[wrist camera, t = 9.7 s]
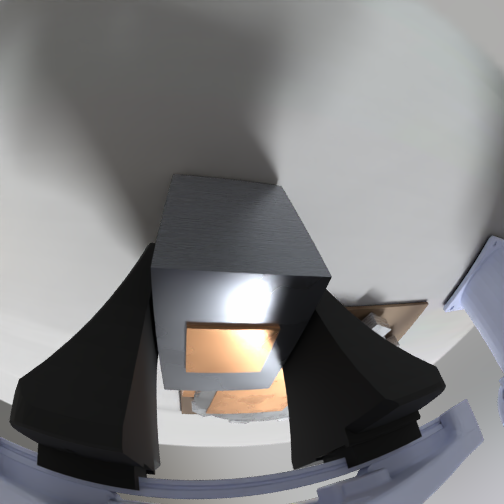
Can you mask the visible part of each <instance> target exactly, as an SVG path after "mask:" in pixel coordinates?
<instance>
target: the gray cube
mask: <svg viewBox="0 0 504 504" xmlns="http://www.w3.org/2000/svg"><path fill="white" fill-rule="evenodd" d="M331 277H332V276H331V274H330V273H329V271H328V269H327V267H326V265H325V263H324V261H323V259H322V257H321V255H320V254H319V252H318V250H317V248H316V246H315V244H314V242H313V241H312V239H311V237H310V235H309V233H308V232H307V230H306V228H305V226H304V224H303V223H302V221H301V219H300V217H299V216H298V214H297V212H296V210H295V209H294V207H293V205H292V203H291V202H290V200H289V198H288V196H287V195H286V193H285V191H284V190H283V188H282V186H277V185H270V184H263V183H255V182H247V181H239V180H230V179H221V178H211V177H201V176H189V175H176V174H173V178H172V181H171V185H170V188H169V192H168V196H167V199H166V203H165V207H164V211H163V215H162V219H161V223H160V227H159V231H158V236H157V240H156V244H155V249H154V254H153V258H152V263H151V282H152V296H153V308H154V318H155V327H156V336H157V344H158V352H159V359H160V365H161V372H162V378H163V384H164V389H165V390H187V391H233V390H255V389H269V388H270V386H271V385H272V383H273V382H274V380H275V378H276V377H277V375H278V373H279V372H280V370H281V369H282V367H283V365H284V364H285V362H286V360H287V359H288V357H289V355H290V353H291V352H292V350H293V348H294V347H295V345H296V343H297V341H298V340H299V338H300V336H301V334H302V332H303V331H304V329H305V327H306V325H307V323H308V322H309V320H310V318H311V316H312V314H313V312H314V310H315V309H316V307H317V305H318V303H319V301H320V299H321V297H322V295H323V293H324V291H325V289H326V287H327V285H328V283H329V281H330V279H331Z"/></svg>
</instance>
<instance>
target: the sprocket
mask: <svg viewBox="0 0 504 504" xmlns="http://www.w3.org/2000/svg"><path fill="white" fill-rule="evenodd" d="M362 322H363V323H364V324H365V325H367V326H368V327H369V328H371V329H372V330H373V331H375V332H376V333H378V334H379V335H380V336H382V337H383V338H385V336H384V335H386V334H387V333H388V332H389V331H390V330H392V329H391V328H390V326H389V324H388V322H387V320H386V319H385V318H383V317H381V316H378V315H376V314H374V313H370V314H369V315H368V316H367V317H365V318H364V319H363V320H362ZM385 339H386V338H385ZM386 340H388V341H389V342H391V343H392V344H394V345H396V346H397V347H399V343H398V341H397V339H396V337H395V335H393V336H391V337H389V338H387V339H386ZM182 397H194V400H193V401H192V411H193V412H195V413H197V414H199V415H201V416H203V417H205V416H211V415H212V416H215V417H219V418H223V419H228V420H229V423H243V424H246V423H248V422H250V421H267V420H276V419H277V421H282V420H287V419H289V412H288V403H287V396H286V388H285V382H284V376H283V370H282V369H281V370H280V372H279V373H278V375H277V377H276V378H275V380H274V382H273V383H272V385H271V386H270V388H269V389H255V390H233V391H187V390H182Z"/></svg>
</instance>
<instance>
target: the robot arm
mask: <svg viewBox="0 0 504 504" xmlns="http://www.w3.org/2000/svg"><path fill="white" fill-rule="evenodd" d="M155 244H156V243H150V244H149V245H148V246H147V248H146V249H145V251H144V252H143V254H142V256H141V257H140V259H139V260H138V262H137V263H136V264H135V266H134V267H133V269H132V270H131V271H130V273H129V274H128V276H127V277H126V278H125V280H124V281H123V282H122V284H121V285H120V286H119V287H118V289H117V290H116V291H115V292H114V294H113V295H112V296H111V297H110V299H109V300H108V301H107V302H106V303H105V304H104V306H103V307H102V308H101V309H100V310H99V311H98V312H97V313H96V314H95V315H94V316H93V318H92V319H91V320H90V321H89V322H88V323H87V324H86V325H85V326H84V327H83V328H82V329H81V330H80V331H79V332H78V333H77V334H75V335H74V336H73V337H72V338H71V339H70V340H69V341H68V342H67V343H65V344H64V345H63V346H62V347H61V348H60V349H58V350H57V351H56V352H55V353H54V354H53V355H51V356H50V357H49V358H48V359H47V360H45V361H44V362H43V363H41V364H40V365H38V366H37V367H36V368H34V369H33V370H32V371H30V372H29V373H28V374H26V375H25V376H23V377H22V378H20V379H19V381H18V384H17V387H16V390H15V394H14V399H13V404H12V409H11V416H10V423H11V425H12V427H13V428H15V429H16V430H17V431H19V432H20V433H22V434H23V435H25V436H27V437H28V438H30V439H32V440H33V441H35V442H37V443H38V453H37V452H34V451H32V450H29V449H27V448H24V447H22V446H20V445H17V444H15V443H13V442H11V441H8V440H6V439H4V438H2V437H0V504H160V503H151V502H142V501H133V500H123V499H122V498H121V497H120V496H119V495H118V494H117V493H116V492H118V493H124V494H130V495H138V496H146V497H157V498H173V499H217V498H232V497H243V496H252V495H260V494H266V493H273V492H278V491H283V490H289V489H293V488H298V487H302V486H306V485H311V484H314V483H318V482H322V481H325V480H329V479H332V478H335V477H339V476H341V475H345V474H348V473H350V472H353V471H356V470H359V469H360V470H359V471H358V474H357V476H355V477H353V478H349V479H346V480H343V481H339V482H336V483H333V484H330V485H327V486H324V487H321V488H318V489H317V494H318V497H317V498H313V499H309V500H305V501H300V502H296V503H291V504H423V503H424V502H425V501H426V500H427V499H428V498H429V497H430V496H431V495H432V494H433V493H434V492H436V491H437V489H439V487H440V486H441V485H442V484H443V483H444V482H445V481H446V480H447V479H448V478H449V477H450V476H451V475H452V474H453V473H454V471H455V470H456V469H457V468H458V467H459V466H460V465H461V463H462V462H463V461H464V460H465V459H466V458H467V457H468V456H469V455H470V454H471V453H472V452H473V451H474V450H475V449H476V448H477V447H478V446H479V445H480V444H481V443H482V442H483V441H484V439H483V436H482V433H481V431H480V428H479V426H478V423H477V421H476V418H475V416H474V414H473V411H472V409H471V407H470V405H469V402H468V400H467V399H465V400H463V401H462V402H460V403H458V404H457V405H455V406H453V407H452V408H450V409H449V410H448V411H446V412H444V413H443V414H442V415H440V416H439V417H438V418H436V419H434V420H432V421H430V422H428V423H426V424H425V425H423V426H421V427H418V424H417V420H418V419H420V414H419V412H418V410H419V409H421V408H422V407H424V406H425V405H427V404H428V403H429V402H431V401H432V400H433V399H435V398H436V397H437V396H438V395H440V394H441V393H442V392H443V391H444V389H445V387H446V385H445V383H444V381H443V379H442V377H441V375H440V373H439V371H438V369H437V367H436V366H434V365H432V364H429V363H427V362H425V361H423V360H421V359H419V358H417V357H415V356H413V355H411V354H409V353H408V352H406V351H404V350H402V349H401V348H399V347H397V346H396V345H394V344H392V343H391V342H389V341H388V340H386V339H385V338H383V337H382V336H380V335H379V334H378V333H376V332H375V331H373V330H372V329H371V328H369V327H368V326H367V325H365V324H364V323H363V322H362V321H361V320H359V319H358V318H357V317H356V316H354V315H353V314H352V313H351V312H350V311H349V310H347V309H346V308H345V307H344V306H343V305H342V304H341V303H340V302H339V301H338V300H337V299H336V298H335V297H334V296H333V295H332V294H331V293H330V292H329V291H328V290H327V289H325V291H324V293H323V295H322V297H321V299H320V301H319V303H318V305H317V307H316V309H315V310H314V312H313V314H312V316H311V318H310V320H309V322H308V323H307V325H306V327H305V329H304V331H303V332H302V334H301V336H300V338H299V340H298V341H297V343H296V345H295V347H294V348H293V350H292V352H291V353H290V355H289V357H288V359H287V360H286V362H285V364H284V365H283V367H282V370H283V376H284V382H285V388H286V396H287V403H288V412H289V422H290V434H291V458H292V464H293V468H294V470H293V471H288V472H282V473H277V474H270V475H263V476H257V477H247V478H236V479H222V480H168V479H154V478H147V475H146V474H154V475H155V469H157V468H158V467H159V466H160V456H159V444H158V429H157V399H156V382H157V361H158V353H159V352H158V344H157V336H156V327H155V318H154V308H153V296H152V282H151V263H152V258H153V254H154V249H155ZM443 309H444V311H445V312H450V311H455V310H461V309H464V310H465V311H466V313H467V314H468V315H469V317H470V318H471V320H472V321H473V323H474V325H475V326H476V328H477V329H478V331H479V332H480V334H481V335H482V337H483V339H484V340H485V342H486V344H487V345H488V347H489V349H490V350H491V352H492V354H493V356H494V357H495V359H496V361H497V363H498V365H499V366H500V368H501V370H502V372H503V373H504V239H502V238H499V237H496V236H491V237H490V238H489V239H488V241H487V243H486V245H485V246H484V248H483V250H482V251H481V253H480V255H479V256H478V258H477V260H476V261H475V263H474V264H473V266H472V268H471V269H470V271H469V272H468V274H467V275H466V277H465V278H464V280H463V281H462V282H461V284H460V285H459V287H458V288H457V290H456V291H455V292H454V294H453V295H452V296H451V298H450V299H449V301H448V302H447V303H446V304H445V306H444V308H443ZM499 382H500V383H501V385H500V388H499V393H498V412H499V416H500V419H501V422H502V424H503V426H504V376H503V377H502V378H501V379H500V380H499ZM322 463H323V464H322ZM318 464H319V465H318ZM314 465H315V466H314ZM310 466H311V467H310ZM305 467H307V468H305ZM301 468H303V469H301ZM296 469H298V470H296Z"/></svg>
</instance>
